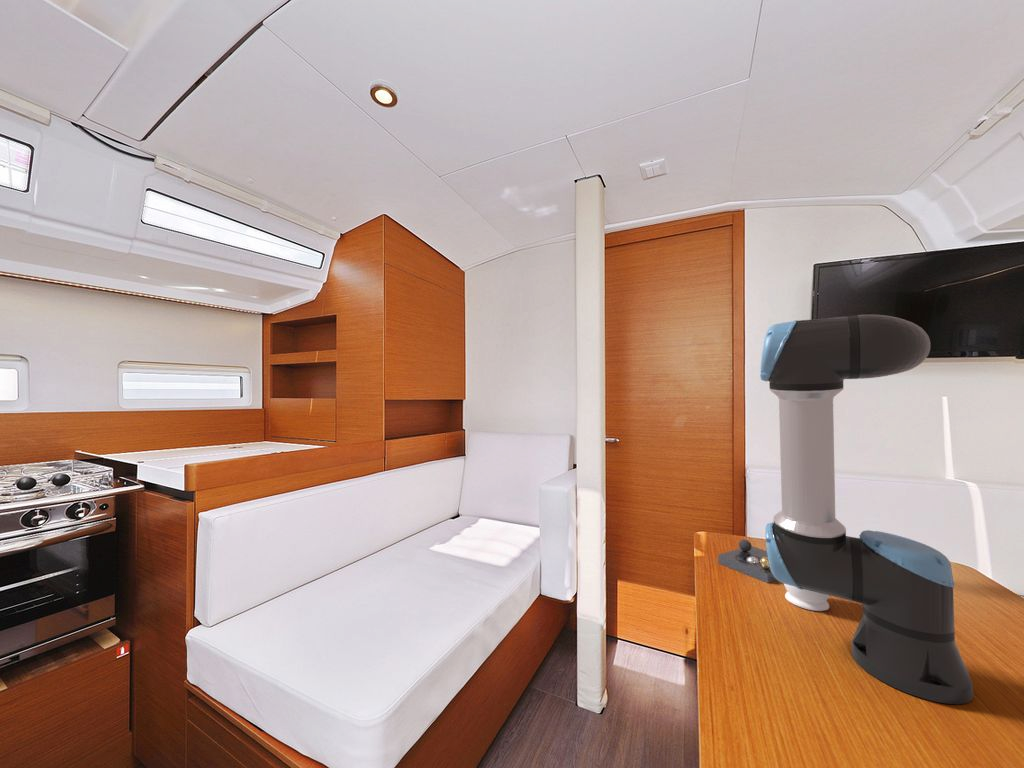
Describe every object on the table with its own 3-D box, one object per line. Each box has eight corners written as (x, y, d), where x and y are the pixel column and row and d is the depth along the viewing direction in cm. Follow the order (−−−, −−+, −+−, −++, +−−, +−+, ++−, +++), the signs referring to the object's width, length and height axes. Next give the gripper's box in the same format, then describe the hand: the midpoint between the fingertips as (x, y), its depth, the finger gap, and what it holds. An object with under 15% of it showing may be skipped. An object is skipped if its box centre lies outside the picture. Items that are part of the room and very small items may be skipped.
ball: (755, 560, 109) (762, 557, 111) (743, 555, 112) (750, 553, 114) (755, 572, 109) (762, 569, 111) (743, 567, 112) (750, 564, 114)
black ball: (747, 554, 116) (747, 542, 116) (736, 550, 119) (736, 538, 119) (754, 552, 117) (753, 540, 118) (743, 548, 120) (742, 537, 121)
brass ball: (768, 571, 104) (768, 560, 104) (757, 567, 107) (757, 556, 107) (775, 569, 105) (774, 558, 106) (763, 565, 108) (763, 554, 108)
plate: (767, 583, 103) (767, 573, 103) (718, 563, 115) (718, 554, 115) (799, 571, 110) (799, 562, 110) (750, 553, 123) (750, 545, 123)
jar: (815, 593, 98) (814, 533, 98) (846, 616, 87) (845, 548, 88) (771, 590, 99) (770, 531, 99) (796, 613, 88) (795, 546, 89)
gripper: (812, 396, 107) (814, 481, 106) (835, 396, 113) (837, 477, 112) (783, 396, 114) (784, 476, 113) (806, 396, 120) (808, 473, 119)
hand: (811, 477), depth 113 cm, fingers closed
